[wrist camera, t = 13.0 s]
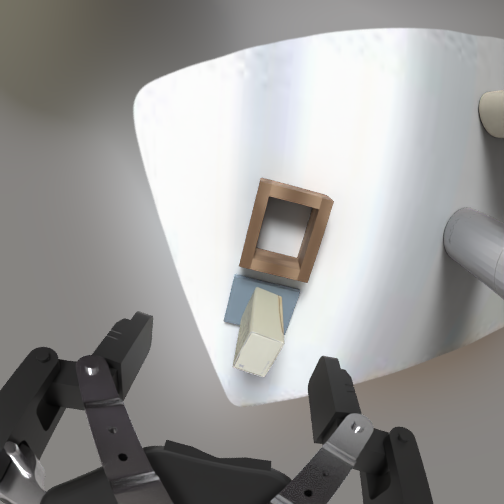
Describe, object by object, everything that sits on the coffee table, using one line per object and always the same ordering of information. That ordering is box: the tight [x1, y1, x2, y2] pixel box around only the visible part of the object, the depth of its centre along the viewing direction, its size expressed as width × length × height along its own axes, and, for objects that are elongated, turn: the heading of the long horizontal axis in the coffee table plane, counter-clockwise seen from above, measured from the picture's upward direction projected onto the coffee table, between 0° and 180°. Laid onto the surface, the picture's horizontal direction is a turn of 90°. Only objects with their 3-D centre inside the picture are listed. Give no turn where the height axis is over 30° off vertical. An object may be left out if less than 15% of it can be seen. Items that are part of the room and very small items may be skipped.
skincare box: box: [233, 287, 284, 377], centre depth 40 cm, size 6×4×12 cm
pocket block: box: [239, 178, 334, 283], centre depth 40 cm, size 9×11×4 cm
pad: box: [224, 274, 300, 335], centre depth 46 cm, size 10×8×1 cm
